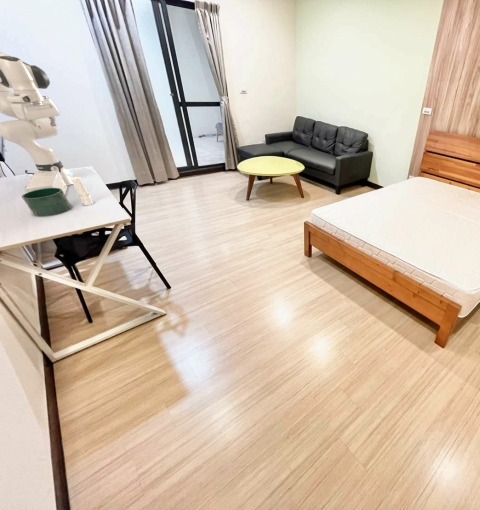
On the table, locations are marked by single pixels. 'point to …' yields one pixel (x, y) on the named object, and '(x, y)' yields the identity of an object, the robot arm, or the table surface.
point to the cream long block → (46, 181)
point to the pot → (47, 201)
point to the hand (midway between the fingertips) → (46, 127)
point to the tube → (81, 190)
